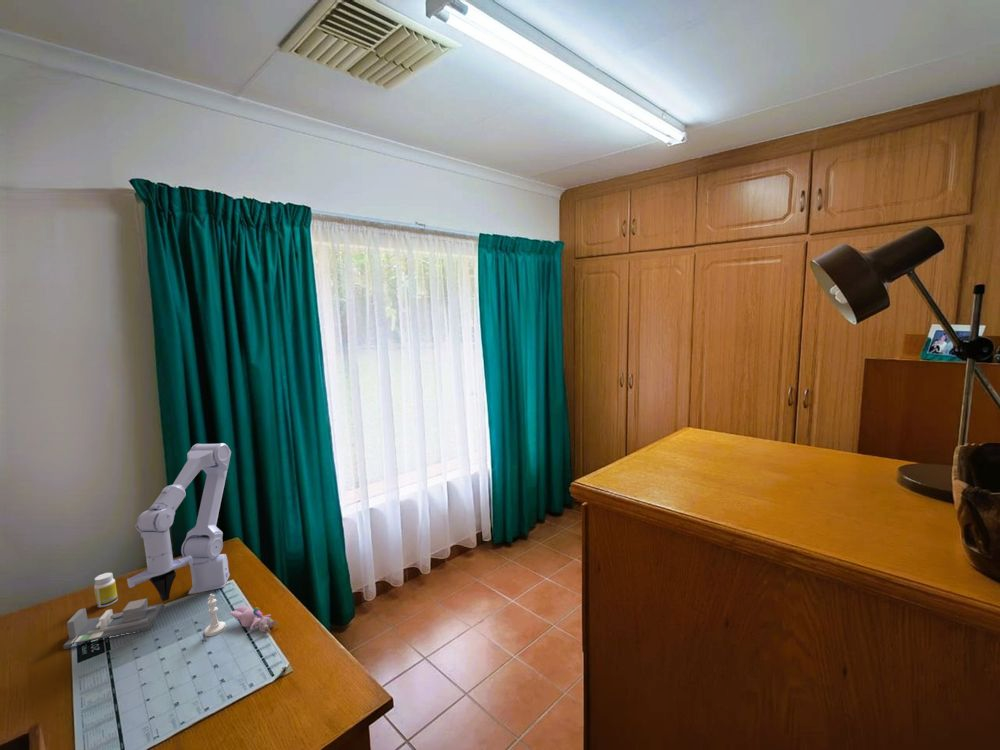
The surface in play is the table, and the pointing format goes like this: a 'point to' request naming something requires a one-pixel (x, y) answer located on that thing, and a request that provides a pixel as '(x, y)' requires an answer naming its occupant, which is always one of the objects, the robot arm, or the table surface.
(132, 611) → the stepped grey block
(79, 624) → the gauge base
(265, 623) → the pink toy animal
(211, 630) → the chess piece
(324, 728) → the table surface
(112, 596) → the supplement bottle
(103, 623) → the white narrow bar
